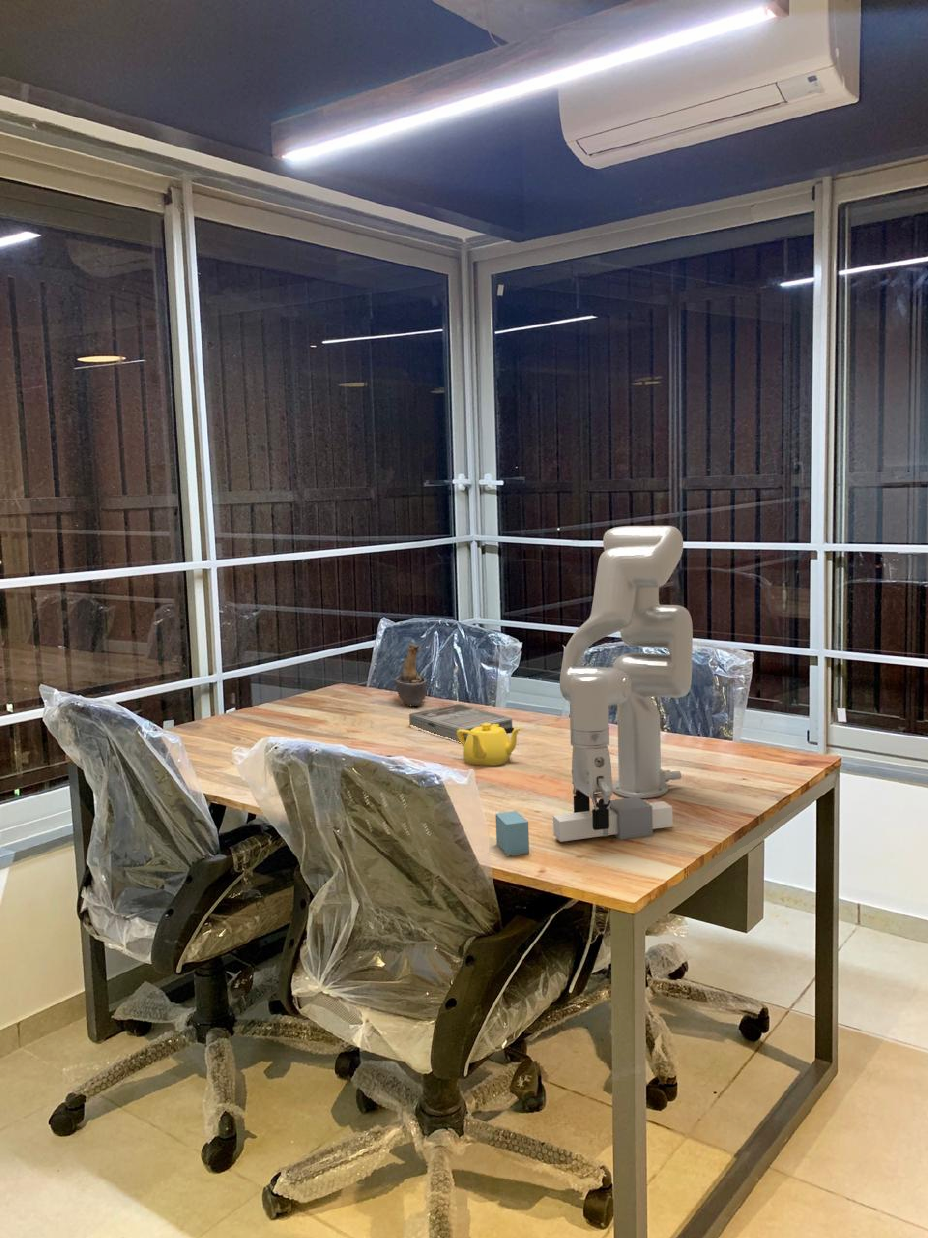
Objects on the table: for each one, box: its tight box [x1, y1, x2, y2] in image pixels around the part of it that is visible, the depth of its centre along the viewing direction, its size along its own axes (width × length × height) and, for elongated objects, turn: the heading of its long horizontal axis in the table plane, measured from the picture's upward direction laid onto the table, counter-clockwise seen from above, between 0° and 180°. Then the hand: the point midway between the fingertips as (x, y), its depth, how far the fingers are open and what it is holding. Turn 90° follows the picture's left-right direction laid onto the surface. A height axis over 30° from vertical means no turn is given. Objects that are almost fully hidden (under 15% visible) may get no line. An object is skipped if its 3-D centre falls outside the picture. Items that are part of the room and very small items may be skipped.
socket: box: [495, 810, 530, 856], centre depth 195 cm, size 4×7×6 cm, turn 15°
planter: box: [394, 643, 428, 707], centre depth 325 cm, size 15×17×20 cm
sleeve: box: [609, 797, 654, 841], centre depth 201 cm, size 7×7×6 cm
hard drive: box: [408, 703, 515, 742], centre depth 291 cm, size 18×27×4 cm
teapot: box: [457, 723, 523, 767], centre depth 256 cm, size 14×13×10 cm
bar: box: [552, 800, 673, 843], centre depth 200 cm, size 24×4×4 cm, turn 105°
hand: (591, 821), depth 198 cm, fingers open, 9 cm apart
